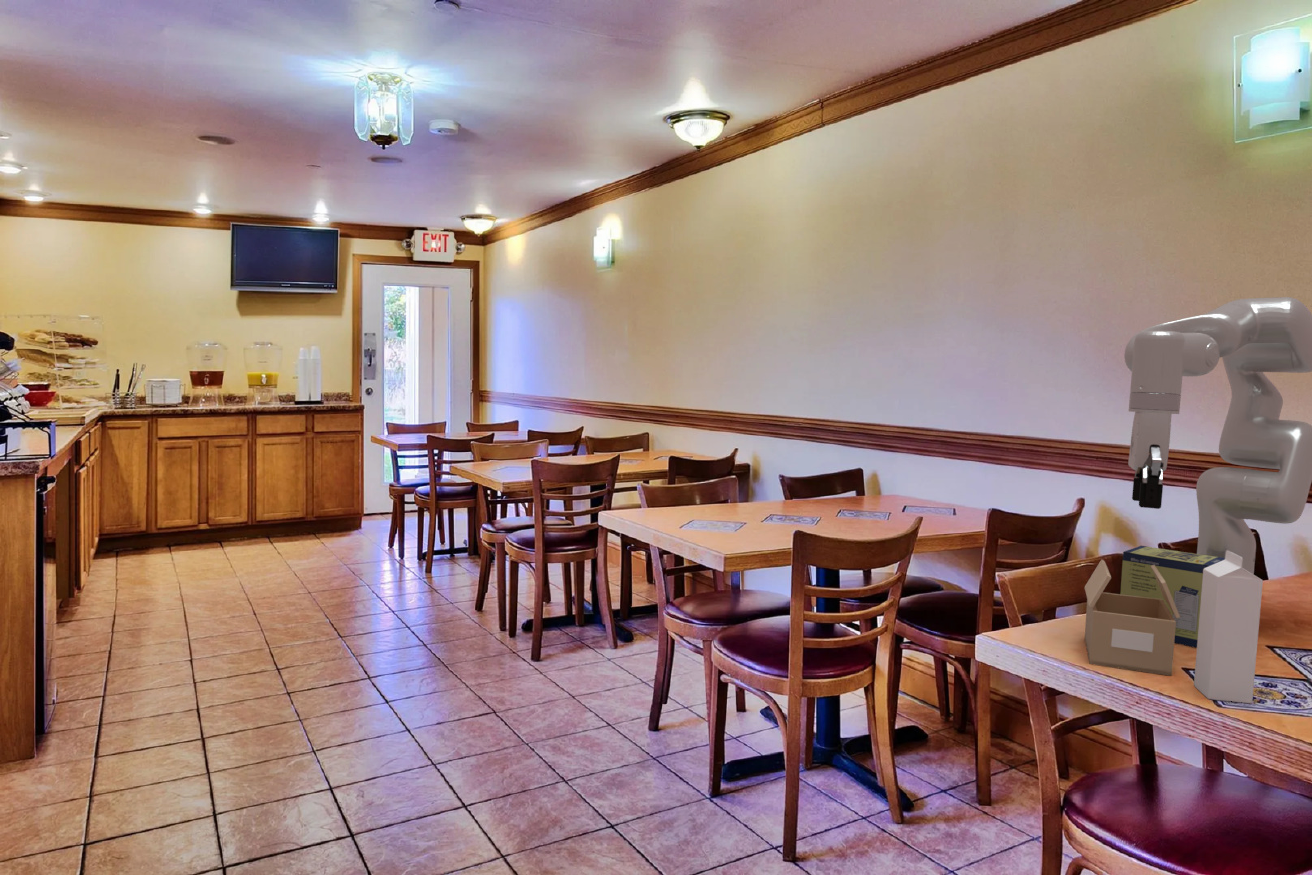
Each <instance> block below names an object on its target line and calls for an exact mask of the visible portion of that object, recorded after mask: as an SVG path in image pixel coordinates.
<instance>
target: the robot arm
mask: <svg viewBox="0 0 1312 875" xmlns="http://www.w3.org/2000/svg"><path fill="white" fill-rule="evenodd" d="M1123 356H1124V363H1125V366H1126V367H1127V369H1128V370H1129V371H1130V372H1131V377H1130V388H1129V389H1130V392H1129V402H1128V412H1133V413H1134V416H1133V421H1132V428H1131V436H1130V445H1129V446H1130V447H1129V454H1128V462H1127V463H1128V466H1129V467H1130V468H1131V469H1132V470H1134V471H1135V472H1134V477H1133V483H1132V495H1131V496H1132V497H1131V499H1132V501H1135V502H1138V506H1139V507H1140V508H1146V509H1148V508H1149V509H1156V510H1157V509H1161V508H1162V503H1163V501H1162V500H1163V489H1164V485H1163V473H1164V472H1165V471H1166V470H1167V467H1168V459H1169V452H1170V442H1171V430H1172V429H1171V428H1172V415H1179V414H1180V408H1181V398H1182V396H1181V395H1182V387H1183V385H1182V384H1183V377H1201V376H1204V375H1207V374H1209V373H1210V372H1212V371H1213V370H1214V369H1215V368H1216V367H1217V365H1218V363H1219V360H1220V359H1221V358H1222V362H1223V366H1224V370H1225V372H1226V375H1227V379H1228V383H1229V385H1230V391H1231V399H1230V404H1229V407H1228V411H1227V414H1226V418H1225V420H1224V424H1223V428H1222V431H1221V434H1220V438H1219V442H1218V443H1219V444H1218V453H1219V456H1220V458H1221V459H1222V460H1223V461H1225V462H1226V463H1229V464H1232V465H1238V466H1244V467H1250V468H1251V467H1252V468H1263V469H1271V470H1272V469H1273V470H1279V471H1268V470H1267V471H1266V470H1258V469H1257V470H1256V469H1250V468H1241V467H1240V468H1239V467H1228V466H1219V467H1212V468H1208V469H1207V470H1205V471H1203V472H1202V473H1201V474H1200V476H1199V477H1198V479H1197V482H1196V490H1195V491H1196V500H1197V507H1198V508H1197V510H1198V535H1197V536H1198V538H1197V549H1196V554H1200V555H1207V556H1214V557H1221V558H1225V555H1226V550H1228V551H1230V552H1232V553H1234V554H1236V555H1238V556H1240V557H1242V559H1243V561H1242V568H1244V569H1245V570H1247V571H1248V572H1250V573H1252V574H1253V575H1255V574H1254V573H1255V563H1256V562H1255V561H1256V552H1257V542H1256V537H1255V535H1254V533H1253V531H1252V530H1251V528H1250V527H1249V525H1248V524H1247V523H1246V521H1245V520H1252V521H1258V522H1259V521H1260V522H1266V523H1274V524H1275V523H1276V524H1283V525H1285V524H1286V525H1287V524H1288V525H1289V524H1293V523H1295V522H1296V521H1298V520H1299V518H1301V516H1302V514H1303V512H1304V510H1305V507H1306V503H1307V500H1308V496H1309V492H1310V490H1311V489H1310V488H1311V484H1312V425H1311V424H1310V423H1307V422H1304V421H1300V420H1291V419H1288V420H1287V419H1280V416H1281V412H1282V408H1283V405H1284V399H1283V396H1282V394H1281V392H1280V391H1279V389H1278V388H1277V387H1276V386H1275V384H1274V383H1273V382H1272V381H1271V380H1270V379H1269V378H1268V377H1267V376H1266V374H1265V373H1290V374H1291V373H1294V374H1295V373H1297V374H1301V373H1307V374H1308V373H1312V312H1311V311H1310V310H1309V308H1308V307H1307V306H1306V305H1305V304H1304V303H1303V301H1300V300H1299V299H1297V298H1294V297H1291V296H1290V297H1289V296H1282V297H1278V296H1277V297H1257V298H1256V297H1254V298H1251V297H1250V298H1240V299H1235V300H1231V301H1229V302H1226V303H1225V304H1223V305H1220V306H1219V307H1217V308H1214V309H1213V310H1210V311H1208V312H1206V313H1203V314H1199V315H1193V316H1189V317H1186V318H1185V317H1184V318H1182V319H1178V320H1177V319H1176V320H1174V321H1173V320H1172V321H1168V322H1163V323H1159V324H1155V325H1152V326H1149V327H1146V328H1144V329H1143V330H1140V331H1138V332H1137V333H1135V334H1134V335H1133V336H1132V337H1131V338H1130V340H1128V342H1127V344H1126V346H1125V350H1124V355H1123Z"/></svg>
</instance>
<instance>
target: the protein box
mask: <svg viewBox="0 0 1312 875" xmlns="http://www.w3.org/2000/svg"><path fill="white" fill-rule="evenodd" d="M1223 560H1225V558H1221V557H1214V556H1207V555H1200V554H1197V553H1193V552H1186V551H1185V552H1184V551H1180V550H1179V551H1178V550H1171V549H1165V548H1158V547H1152V546H1148V545H1147V546H1146V545H1139V546H1136V547H1133V548H1131V549H1127V550H1125V551H1123V552H1122V566H1121V579H1120V580H1121V582H1120V593H1119V594H1121V595H1130V596H1138V597H1147V598H1155V599H1163V601H1164V603H1165V604H1166V606H1167V608H1168V609H1169V611H1170V613H1171V614H1172V616H1173V618H1174V619H1175V621H1176V628H1175V640H1174V644H1178V645H1181V646H1186V647H1190V646H1191V648H1196V649H1197V641H1198V629H1199V617H1200V605H1201V592H1202V580H1203V569H1204V568H1206V567H1209V566H1211V565H1213V564H1216V563H1218V562H1220V561H1223ZM1152 565H1155V567H1156V568H1157V570H1158V571H1159V573H1160V574H1161V576H1162V577H1163V579H1164V580H1165V582H1166V584H1167V586H1168V589H1169V591H1170V594H1171V596H1172V598H1173V601H1174V603H1175V606H1176V608H1177V610H1178V613H1179V615H1180V617H1179V618H1176V617H1175V615H1174V614H1173V612H1172V610H1171V609H1170V607H1169V605H1168V604H1167V602H1166V600H1165V599H1164V597H1163V594H1162V592H1161V590H1160V587H1159V585H1158V582H1157V580H1156V578H1155V575H1154V573H1153V570H1152V568H1151V566H1152Z"/></svg>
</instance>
